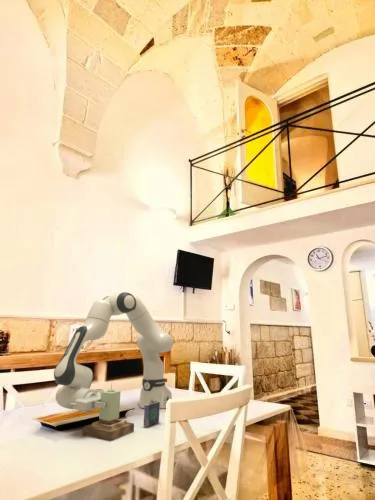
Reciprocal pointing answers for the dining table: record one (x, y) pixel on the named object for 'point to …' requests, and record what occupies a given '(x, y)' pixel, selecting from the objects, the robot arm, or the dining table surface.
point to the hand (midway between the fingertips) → (111, 403)
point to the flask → (151, 413)
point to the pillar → (110, 405)
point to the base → (108, 429)
